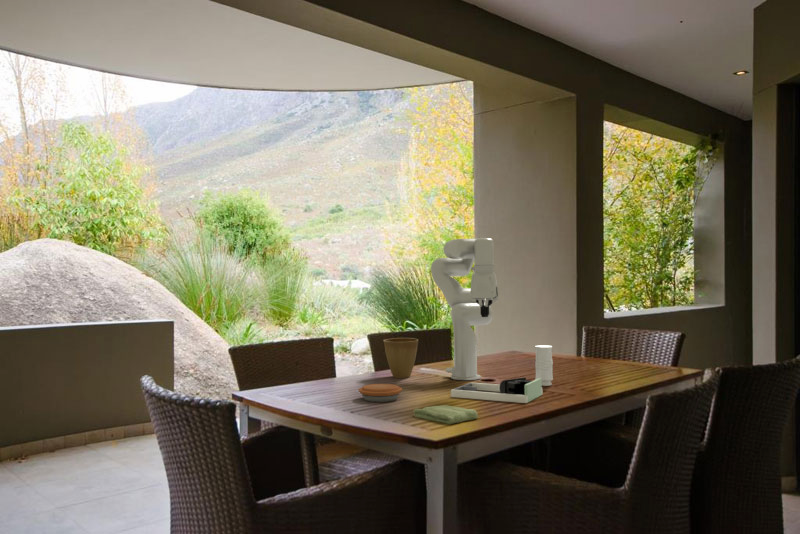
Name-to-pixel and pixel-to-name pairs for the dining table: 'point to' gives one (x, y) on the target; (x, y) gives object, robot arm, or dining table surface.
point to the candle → (544, 364)
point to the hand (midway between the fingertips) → (484, 316)
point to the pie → (380, 392)
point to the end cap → (514, 386)
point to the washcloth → (446, 414)
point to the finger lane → (471, 392)
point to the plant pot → (401, 355)
